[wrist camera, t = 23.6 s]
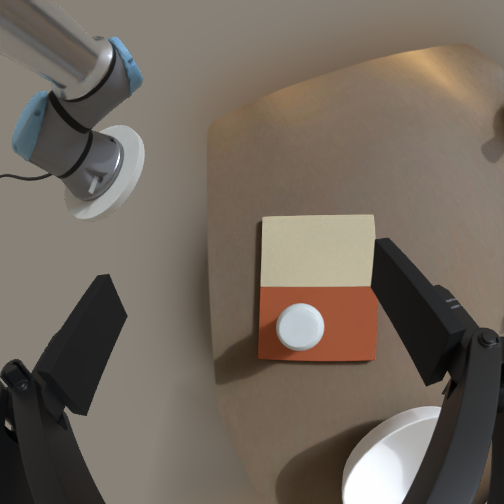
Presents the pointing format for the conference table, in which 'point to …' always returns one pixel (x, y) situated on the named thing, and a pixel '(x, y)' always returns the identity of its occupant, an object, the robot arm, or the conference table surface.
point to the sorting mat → (319, 284)
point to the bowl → (389, 458)
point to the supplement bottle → (300, 327)
